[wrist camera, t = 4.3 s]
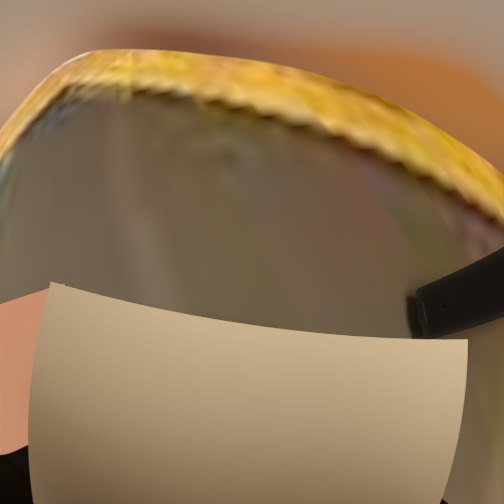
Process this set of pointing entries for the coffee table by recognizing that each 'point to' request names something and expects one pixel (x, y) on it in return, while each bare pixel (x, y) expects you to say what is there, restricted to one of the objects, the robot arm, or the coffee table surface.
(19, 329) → the terracotta mat
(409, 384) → the birch block
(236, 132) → the coffee table surface
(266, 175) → the coffee table surface
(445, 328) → the black flat curved piece
